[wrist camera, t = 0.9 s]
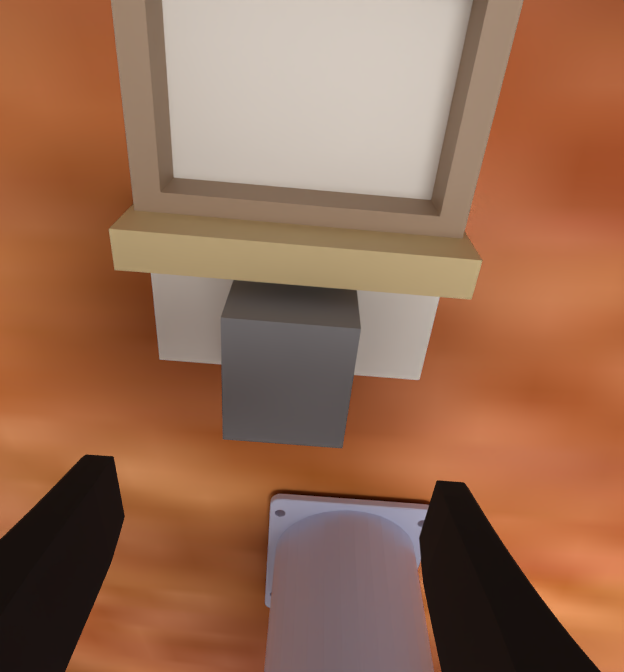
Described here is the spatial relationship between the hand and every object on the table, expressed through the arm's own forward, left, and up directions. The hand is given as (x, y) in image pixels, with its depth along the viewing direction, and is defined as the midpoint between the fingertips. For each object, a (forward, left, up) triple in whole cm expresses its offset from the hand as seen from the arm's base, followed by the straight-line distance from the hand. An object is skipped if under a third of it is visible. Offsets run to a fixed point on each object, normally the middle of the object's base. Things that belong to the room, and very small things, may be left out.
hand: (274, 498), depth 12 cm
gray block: (0, 0, -8) cm, 8 cm away
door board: (+4, 0, -9) cm, 10 cm away
